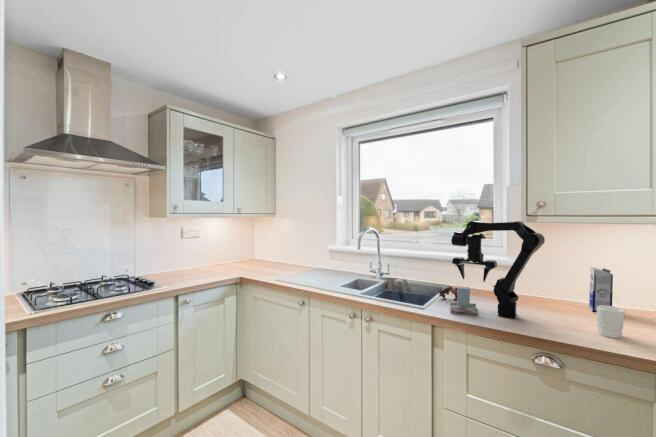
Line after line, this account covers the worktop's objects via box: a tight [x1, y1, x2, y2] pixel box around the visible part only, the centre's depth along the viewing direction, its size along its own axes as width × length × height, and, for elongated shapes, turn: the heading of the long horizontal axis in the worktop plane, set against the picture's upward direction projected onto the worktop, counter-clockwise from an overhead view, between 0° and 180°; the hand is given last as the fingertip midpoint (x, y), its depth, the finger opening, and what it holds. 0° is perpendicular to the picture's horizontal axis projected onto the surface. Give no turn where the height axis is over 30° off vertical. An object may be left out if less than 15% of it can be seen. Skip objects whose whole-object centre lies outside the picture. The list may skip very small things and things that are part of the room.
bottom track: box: [449, 300, 478, 316], centre depth 149 cm, size 11×8×3 cm
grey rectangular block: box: [457, 286, 471, 307], centre depth 149 cm, size 5×4×10 cm
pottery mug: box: [438, 285, 458, 302], centre depth 167 cm, size 12×10×8 cm
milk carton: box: [588, 266, 614, 313], centre depth 148 cm, size 7×7×20 cm
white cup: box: [596, 305, 626, 339], centre depth 122 cm, size 8×8×10 cm
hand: (473, 280), depth 154 cm, fingers open, 9 cm apart
